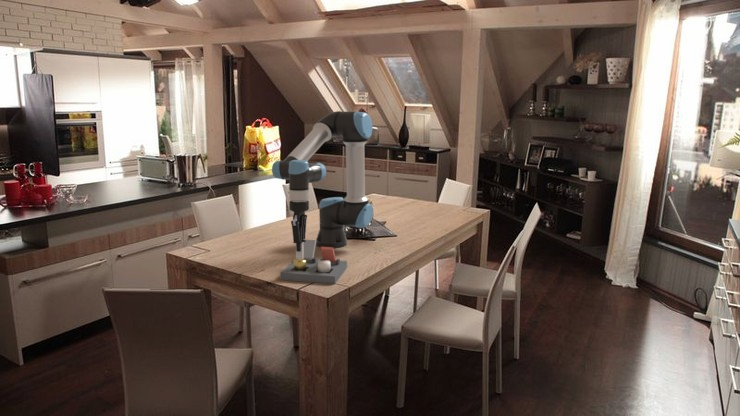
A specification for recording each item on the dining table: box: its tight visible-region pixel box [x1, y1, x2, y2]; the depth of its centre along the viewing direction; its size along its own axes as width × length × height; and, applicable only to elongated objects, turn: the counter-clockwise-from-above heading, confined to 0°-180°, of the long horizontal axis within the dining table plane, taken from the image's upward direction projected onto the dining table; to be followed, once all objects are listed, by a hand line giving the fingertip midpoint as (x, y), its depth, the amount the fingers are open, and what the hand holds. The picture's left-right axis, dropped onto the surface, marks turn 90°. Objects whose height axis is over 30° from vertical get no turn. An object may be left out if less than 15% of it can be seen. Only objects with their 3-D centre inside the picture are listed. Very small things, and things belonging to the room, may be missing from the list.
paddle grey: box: [303, 238, 317, 262], centre depth 210 cm, size 2×5×9 cm
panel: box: [280, 256, 348, 285], centre depth 203 cm, size 20×22×5 cm
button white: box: [318, 260, 331, 273], centre depth 198 cm, size 5×5×4 cm
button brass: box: [293, 258, 306, 271], centre depth 200 cm, size 5×5×4 cm
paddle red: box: [320, 247, 337, 264], centre depth 204 cm, size 2×5×9 cm
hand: (299, 258), depth 199 cm, fingers closed
